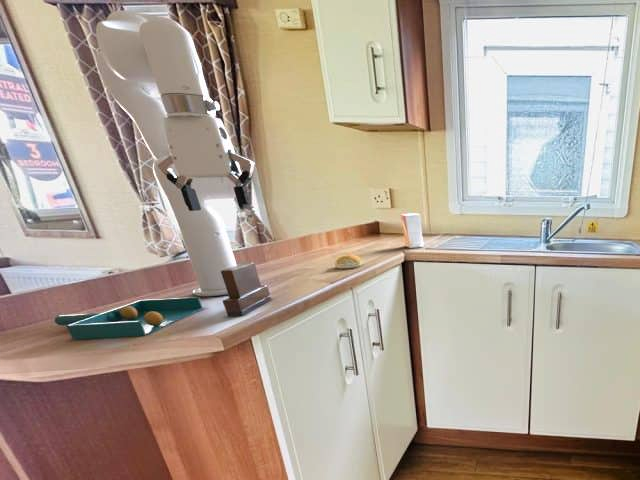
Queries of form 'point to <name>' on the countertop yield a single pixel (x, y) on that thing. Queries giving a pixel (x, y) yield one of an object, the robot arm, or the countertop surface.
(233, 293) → the stepped wooden block
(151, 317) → the crumb
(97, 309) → the countertop surface
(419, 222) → the small box
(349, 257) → the bread roll
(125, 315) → the orange round ball
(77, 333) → the dustpan
